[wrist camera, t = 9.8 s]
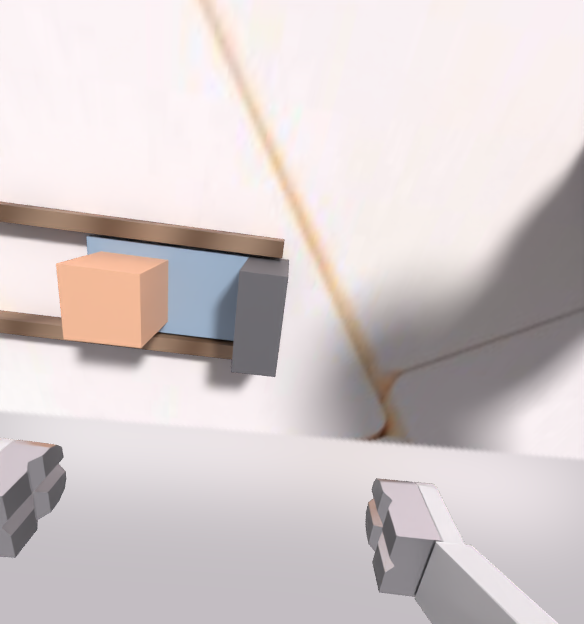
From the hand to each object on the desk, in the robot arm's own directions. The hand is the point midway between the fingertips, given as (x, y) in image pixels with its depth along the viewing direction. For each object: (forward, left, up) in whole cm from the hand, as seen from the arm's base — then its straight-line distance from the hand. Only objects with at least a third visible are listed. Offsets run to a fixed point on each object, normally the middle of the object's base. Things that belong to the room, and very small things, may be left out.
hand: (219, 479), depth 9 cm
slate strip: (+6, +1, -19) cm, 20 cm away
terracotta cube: (+10, +1, -18) cm, 21 cm away
